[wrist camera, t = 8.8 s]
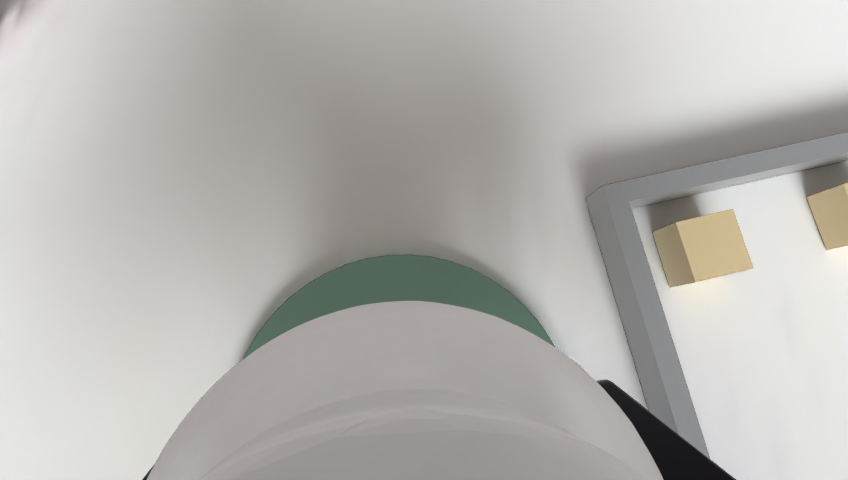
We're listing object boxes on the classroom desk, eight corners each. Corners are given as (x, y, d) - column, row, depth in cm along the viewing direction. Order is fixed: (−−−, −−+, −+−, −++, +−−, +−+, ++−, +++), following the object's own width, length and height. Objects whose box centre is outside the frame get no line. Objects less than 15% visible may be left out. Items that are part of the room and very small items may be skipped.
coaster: (613, 562, 16) (621, 570, 16) (262, 662, 15) (256, 675, 15) (521, 227, 18) (525, 223, 18) (205, 297, 17) (198, 295, 17)
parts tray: (1065, 558, 17) (1133, 579, 15) (724, 662, 16) (759, 698, 14) (886, 132, 20) (929, 114, 18) (585, 198, 18) (602, 185, 17)
